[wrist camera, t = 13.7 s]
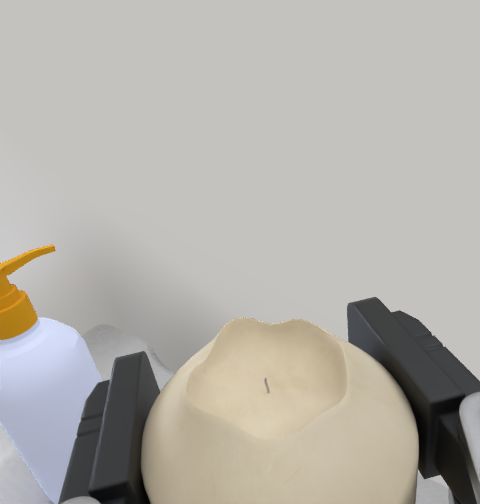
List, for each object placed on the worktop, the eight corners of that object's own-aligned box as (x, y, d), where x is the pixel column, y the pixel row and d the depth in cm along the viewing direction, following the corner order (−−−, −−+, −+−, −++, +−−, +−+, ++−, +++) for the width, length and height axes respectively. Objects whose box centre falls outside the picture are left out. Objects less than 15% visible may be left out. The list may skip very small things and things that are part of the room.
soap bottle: (154, 458, 39) (71, 255, 29) (64, 533, 34) (-78, 319, 23) (116, 413, 45) (37, 232, 35) (36, 471, 40) (-87, 279, 29)
